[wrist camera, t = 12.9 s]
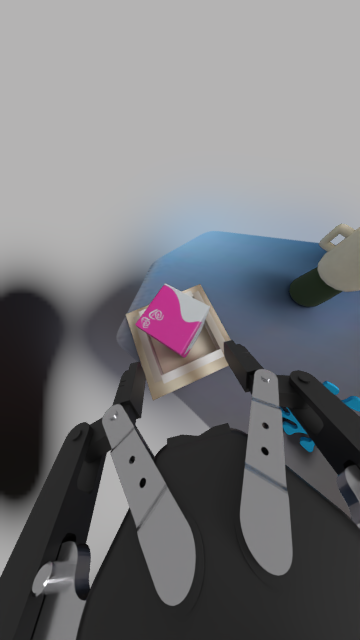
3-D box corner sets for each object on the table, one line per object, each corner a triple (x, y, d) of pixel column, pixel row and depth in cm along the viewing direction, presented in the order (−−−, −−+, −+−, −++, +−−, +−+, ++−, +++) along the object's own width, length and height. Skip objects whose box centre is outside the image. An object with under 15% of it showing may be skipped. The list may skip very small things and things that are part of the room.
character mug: (339, 303, 25) (484, 249, 13) (314, 325, 24) (446, 288, 12) (293, 266, 28) (376, 193, 16) (269, 284, 27) (338, 221, 15)
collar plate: (199, 286, 28) (201, 276, 25) (239, 359, 23) (248, 359, 20) (127, 315, 27) (119, 309, 23) (154, 398, 22) (148, 405, 19)
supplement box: (174, 315, 25) (165, 280, 14) (201, 331, 24) (214, 306, 13) (157, 340, 24) (132, 324, 13) (184, 359, 23) (183, 357, 12)
